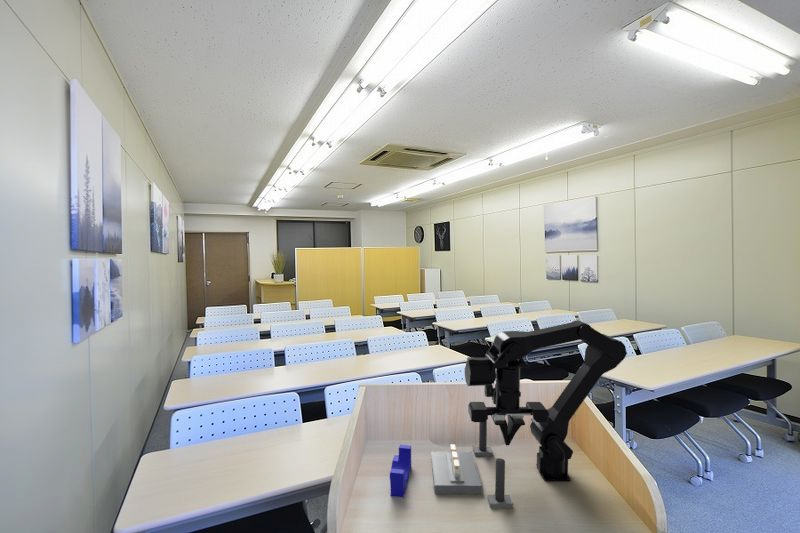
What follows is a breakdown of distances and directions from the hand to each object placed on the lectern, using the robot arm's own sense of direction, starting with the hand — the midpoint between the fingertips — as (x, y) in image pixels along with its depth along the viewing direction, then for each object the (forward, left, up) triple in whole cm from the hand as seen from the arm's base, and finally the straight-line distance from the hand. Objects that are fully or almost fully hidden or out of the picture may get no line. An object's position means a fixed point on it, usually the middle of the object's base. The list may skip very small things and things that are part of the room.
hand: (507, 444), depth 95 cm
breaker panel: (+13, 0, -8) cm, 15 cm away
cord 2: (+4, +10, -8) cm, 14 cm away
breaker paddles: (+13, 0, -6) cm, 14 cm away
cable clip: (+27, +2, -9) cm, 29 cm away
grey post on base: (+4, -10, -8) cm, 14 cm away
